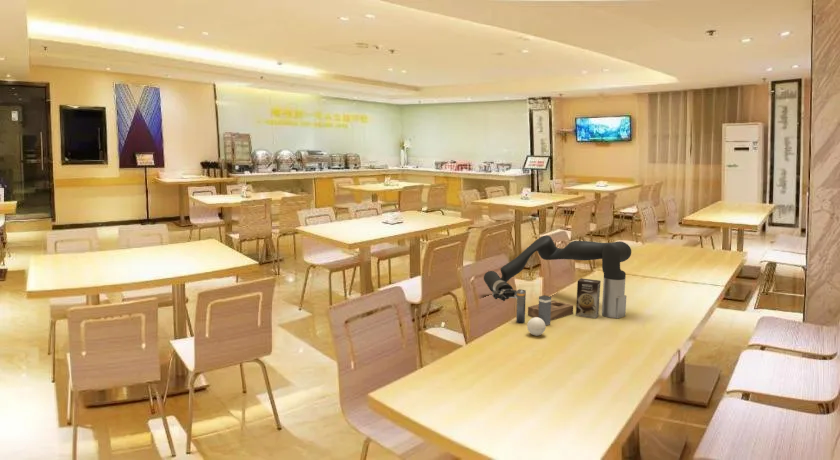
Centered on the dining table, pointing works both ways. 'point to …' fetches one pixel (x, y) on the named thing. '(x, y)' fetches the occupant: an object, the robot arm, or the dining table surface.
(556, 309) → the block
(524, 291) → the cylinder
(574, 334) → the dining table surface
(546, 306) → the square bit
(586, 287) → the coffee box
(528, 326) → the seamed sphere
